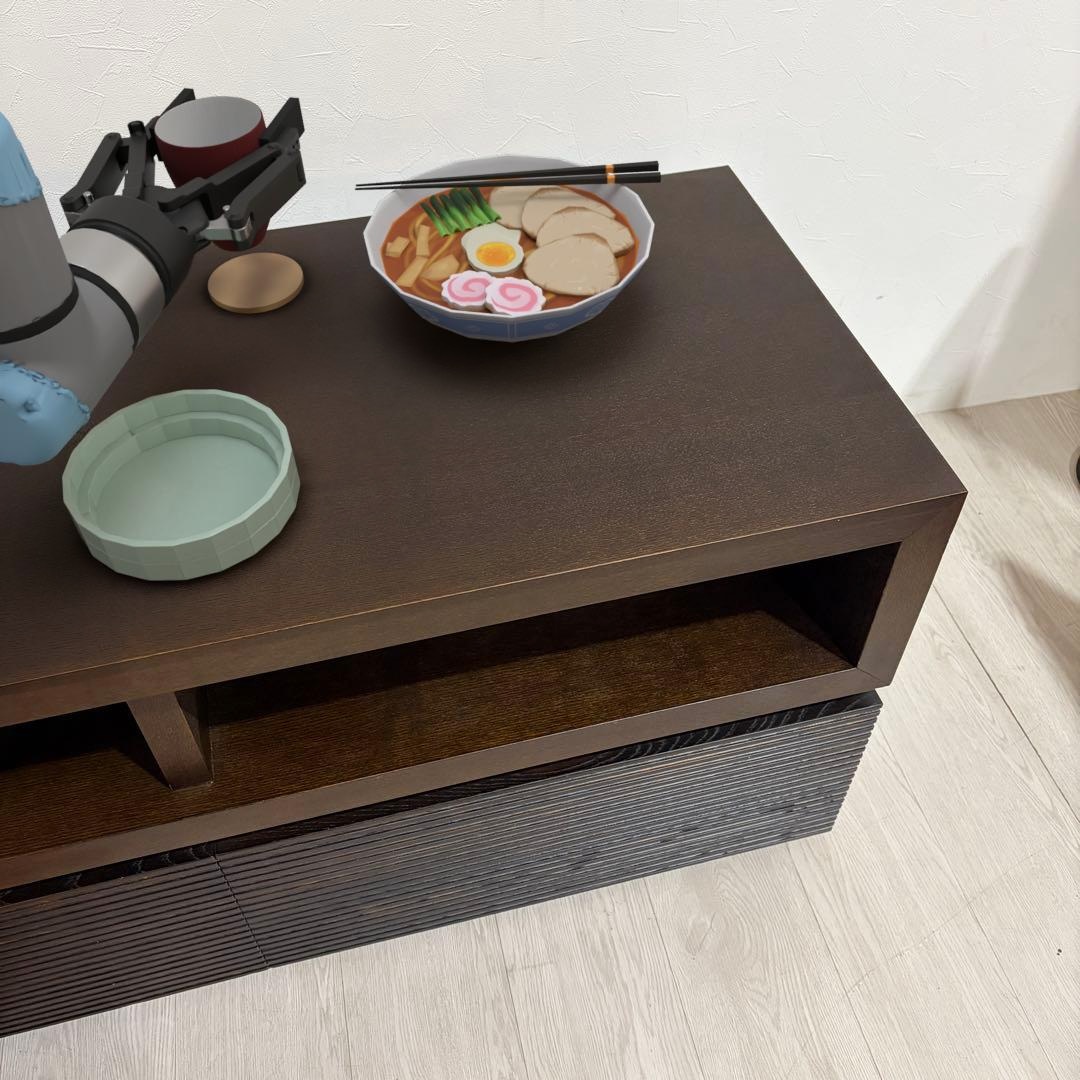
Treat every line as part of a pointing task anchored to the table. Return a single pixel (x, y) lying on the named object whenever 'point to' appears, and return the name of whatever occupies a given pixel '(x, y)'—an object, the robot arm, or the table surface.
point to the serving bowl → (182, 484)
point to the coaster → (255, 283)
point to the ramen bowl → (511, 242)
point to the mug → (209, 141)
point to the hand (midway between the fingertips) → (244, 109)
